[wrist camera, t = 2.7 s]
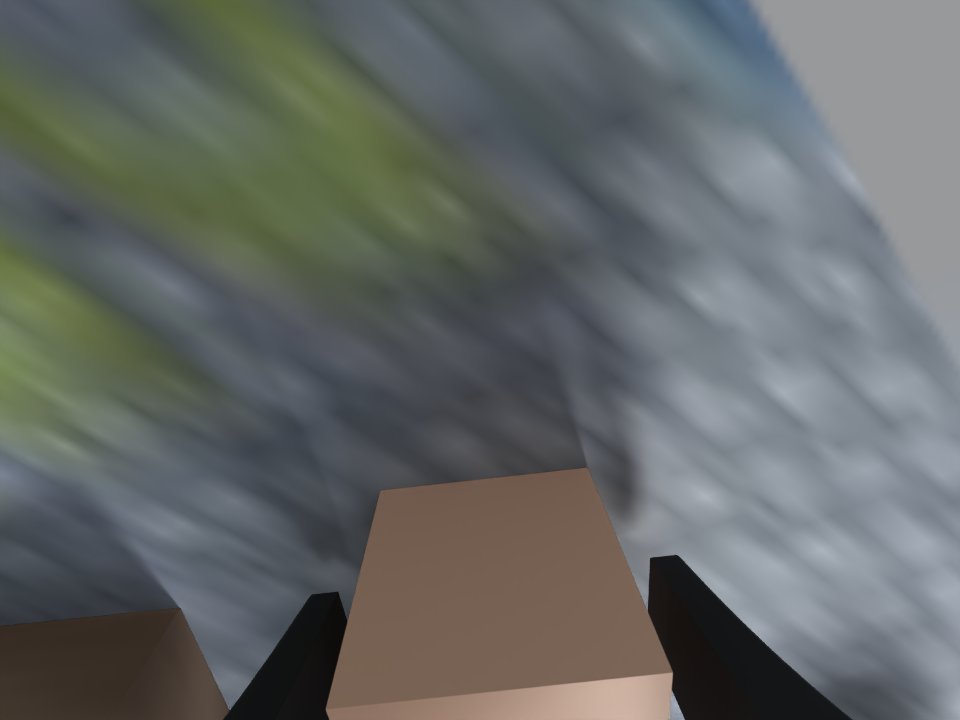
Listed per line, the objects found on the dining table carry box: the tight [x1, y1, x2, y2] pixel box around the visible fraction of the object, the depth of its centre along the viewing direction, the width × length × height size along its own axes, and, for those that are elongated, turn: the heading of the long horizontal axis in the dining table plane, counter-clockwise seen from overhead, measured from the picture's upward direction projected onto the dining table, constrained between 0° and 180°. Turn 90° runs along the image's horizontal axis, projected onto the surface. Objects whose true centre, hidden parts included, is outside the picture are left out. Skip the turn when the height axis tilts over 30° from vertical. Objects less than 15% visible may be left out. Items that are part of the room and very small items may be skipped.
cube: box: [326, 468, 673, 720], centre depth 10 cm, size 5×5×5 cm
